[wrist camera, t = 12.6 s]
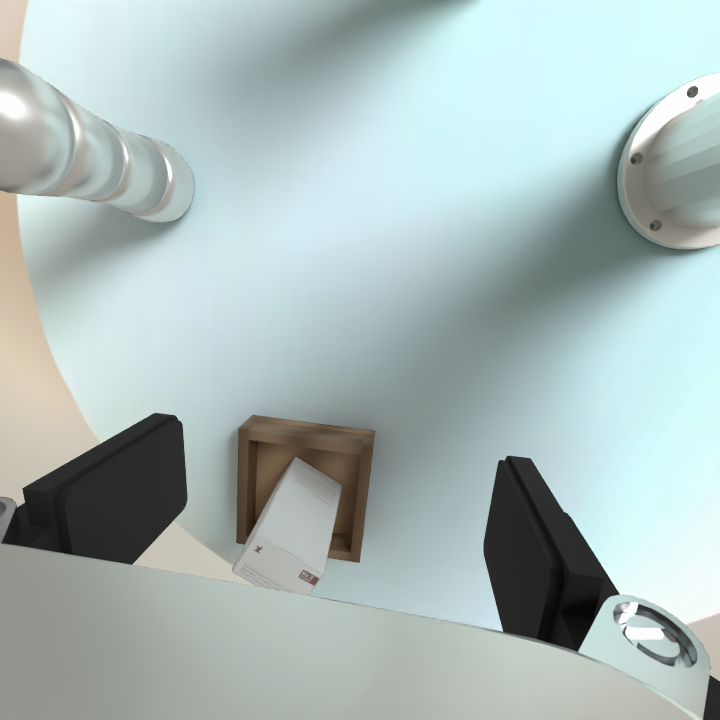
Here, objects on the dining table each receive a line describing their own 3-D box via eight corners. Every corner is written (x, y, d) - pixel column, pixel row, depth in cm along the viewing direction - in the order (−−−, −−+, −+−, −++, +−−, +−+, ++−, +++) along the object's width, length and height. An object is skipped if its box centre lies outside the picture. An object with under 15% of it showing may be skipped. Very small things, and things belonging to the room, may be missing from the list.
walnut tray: (374, 431, 37) (372, 447, 34) (362, 538, 41) (359, 562, 37) (252, 415, 38) (238, 428, 35) (249, 521, 41) (236, 543, 38)
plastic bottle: (216, 176, 33) (-36, 39, 14) (183, 240, 35) (-82, 198, 16) (156, 134, 33) (-187, -67, 14) (126, 201, 35) (-219, 107, 15)
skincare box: (276, 483, 39) (224, 574, 27) (296, 452, 38) (251, 532, 26) (325, 513, 39) (294, 616, 27) (346, 483, 38) (324, 576, 26)
